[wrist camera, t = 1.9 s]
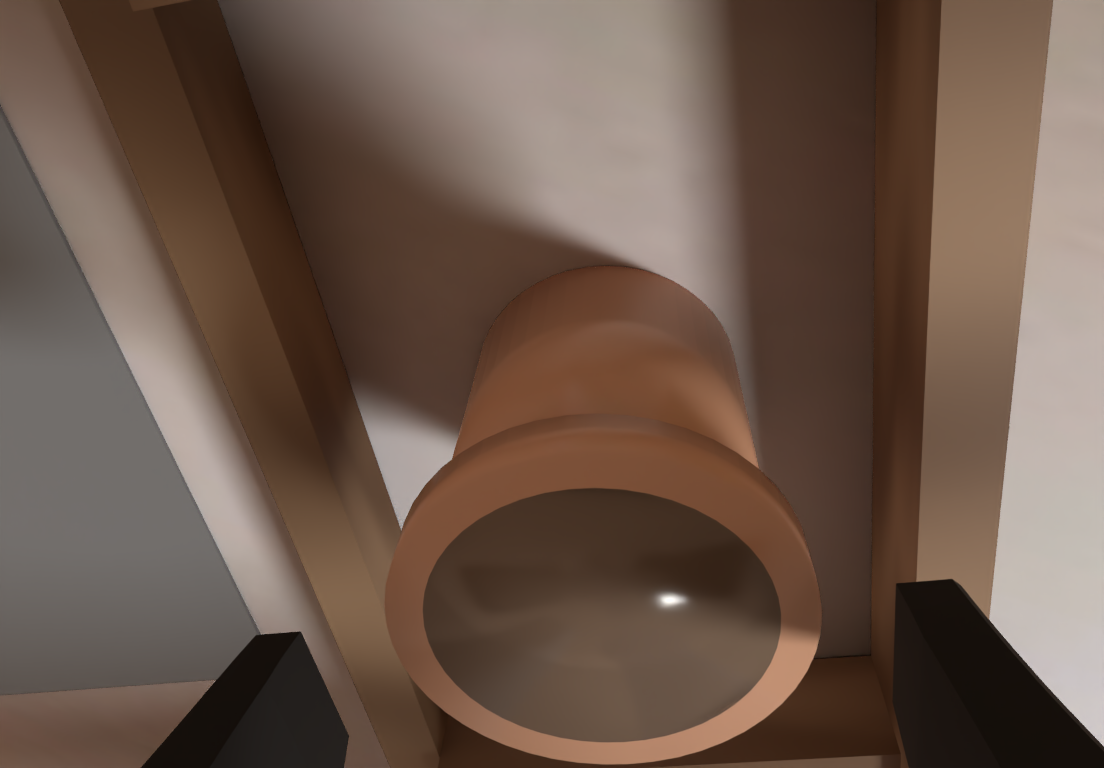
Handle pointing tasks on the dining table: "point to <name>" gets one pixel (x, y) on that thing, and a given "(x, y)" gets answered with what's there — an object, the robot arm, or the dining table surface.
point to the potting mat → (90, 488)
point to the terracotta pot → (604, 536)
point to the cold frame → (898, 359)
